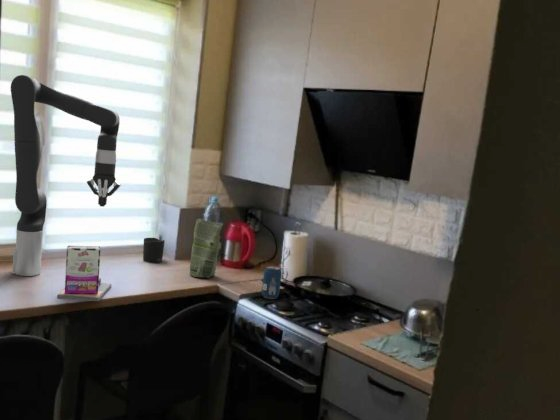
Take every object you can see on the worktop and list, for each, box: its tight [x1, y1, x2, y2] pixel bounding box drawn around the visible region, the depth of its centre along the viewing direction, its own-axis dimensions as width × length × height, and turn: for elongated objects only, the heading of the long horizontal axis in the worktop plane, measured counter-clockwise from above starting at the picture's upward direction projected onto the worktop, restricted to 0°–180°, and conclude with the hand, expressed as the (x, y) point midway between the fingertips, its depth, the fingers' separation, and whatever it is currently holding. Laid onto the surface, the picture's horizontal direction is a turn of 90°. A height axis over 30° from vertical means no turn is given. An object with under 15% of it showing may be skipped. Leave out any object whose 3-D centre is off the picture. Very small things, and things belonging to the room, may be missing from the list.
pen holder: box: [142, 237, 165, 264], centre depth 263 cm, size 9×9×10 cm
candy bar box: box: [64, 245, 101, 294], centre depth 199 cm, size 11×5×16 cm, turn 109°
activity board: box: [56, 277, 112, 302], centre depth 205 cm, size 14×19×3 cm
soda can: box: [261, 265, 282, 300], centre depth 224 cm, size 7×7×12 cm
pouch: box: [189, 218, 224, 279], centre depth 244 cm, size 11×12×25 cm
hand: (102, 206), depth 220 cm, fingers closed
